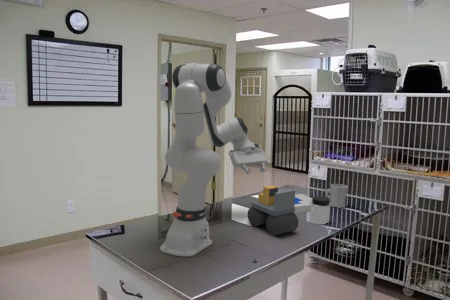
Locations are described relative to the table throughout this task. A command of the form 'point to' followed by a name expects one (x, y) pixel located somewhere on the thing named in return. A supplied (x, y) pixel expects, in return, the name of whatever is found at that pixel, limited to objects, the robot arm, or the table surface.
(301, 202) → the stepped white slab
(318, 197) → the jar
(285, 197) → the trolley
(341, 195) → the cup
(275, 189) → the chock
